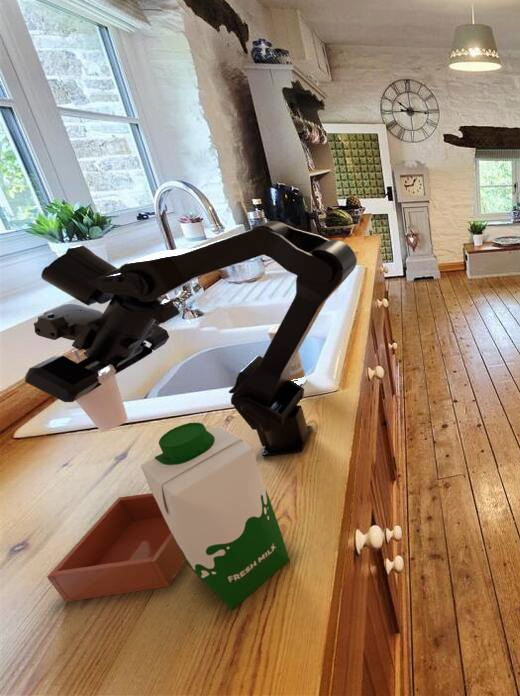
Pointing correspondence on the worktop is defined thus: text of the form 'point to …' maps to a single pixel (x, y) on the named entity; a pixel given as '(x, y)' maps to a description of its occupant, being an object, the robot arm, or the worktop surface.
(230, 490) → the milk carton
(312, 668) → the worktop surface
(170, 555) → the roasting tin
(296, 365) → the sprinkles bottle
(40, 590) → the worktop surface
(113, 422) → the smoothie
